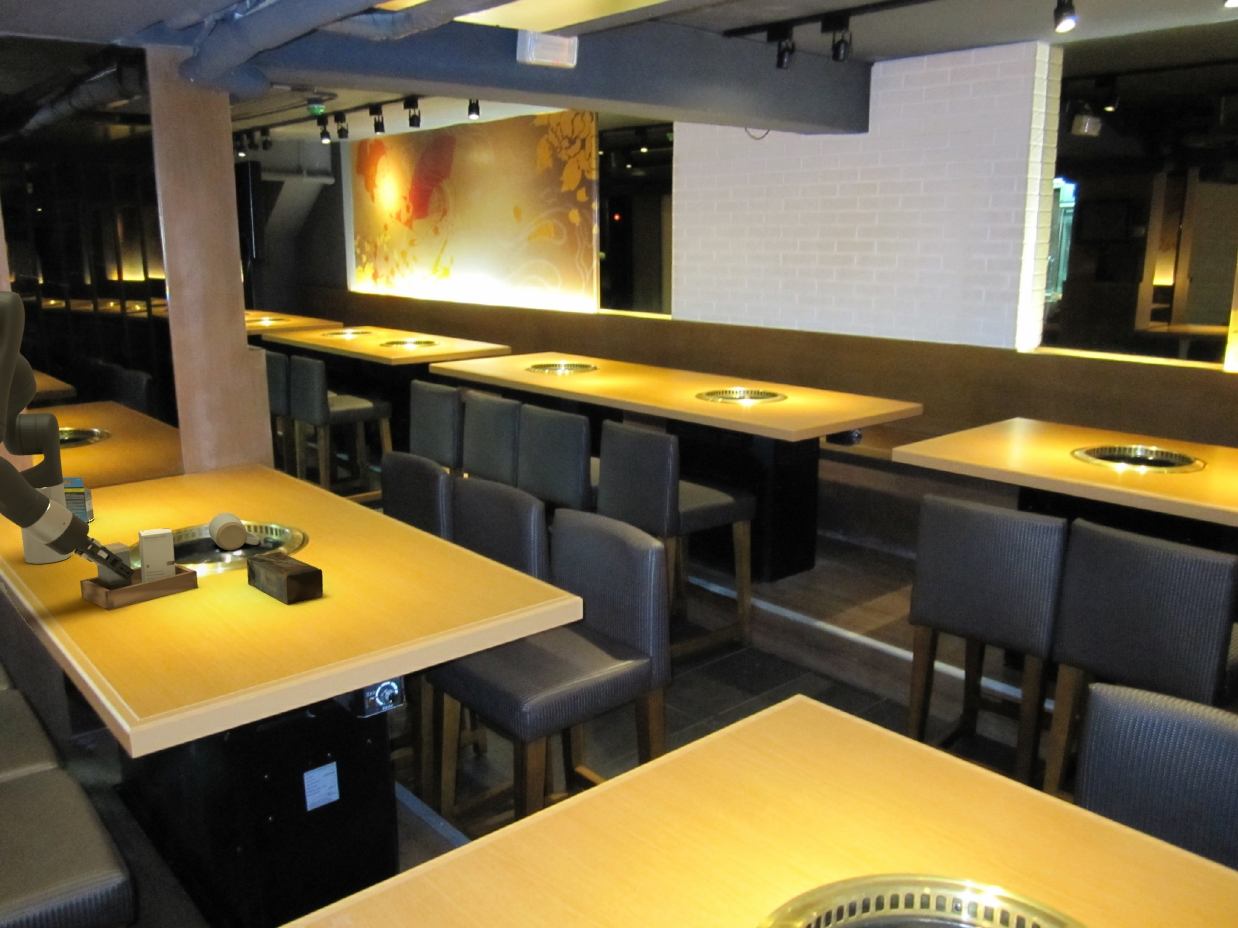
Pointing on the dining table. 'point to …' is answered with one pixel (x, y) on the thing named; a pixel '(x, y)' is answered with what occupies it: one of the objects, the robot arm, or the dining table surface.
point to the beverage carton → (285, 577)
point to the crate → (139, 588)
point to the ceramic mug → (230, 532)
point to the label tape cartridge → (78, 498)
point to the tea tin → (109, 577)
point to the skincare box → (156, 554)
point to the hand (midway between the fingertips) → (124, 572)
